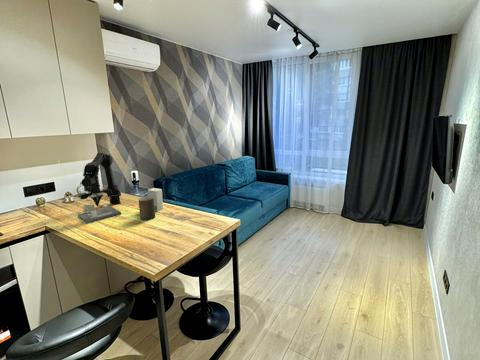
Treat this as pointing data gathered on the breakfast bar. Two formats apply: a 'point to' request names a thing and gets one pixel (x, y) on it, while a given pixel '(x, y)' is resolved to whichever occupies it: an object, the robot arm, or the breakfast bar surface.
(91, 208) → the dial
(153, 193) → the skincare box
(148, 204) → the pillar candle
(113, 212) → the console
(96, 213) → the fader
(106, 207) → the fader
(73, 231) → the breakfast bar surface
